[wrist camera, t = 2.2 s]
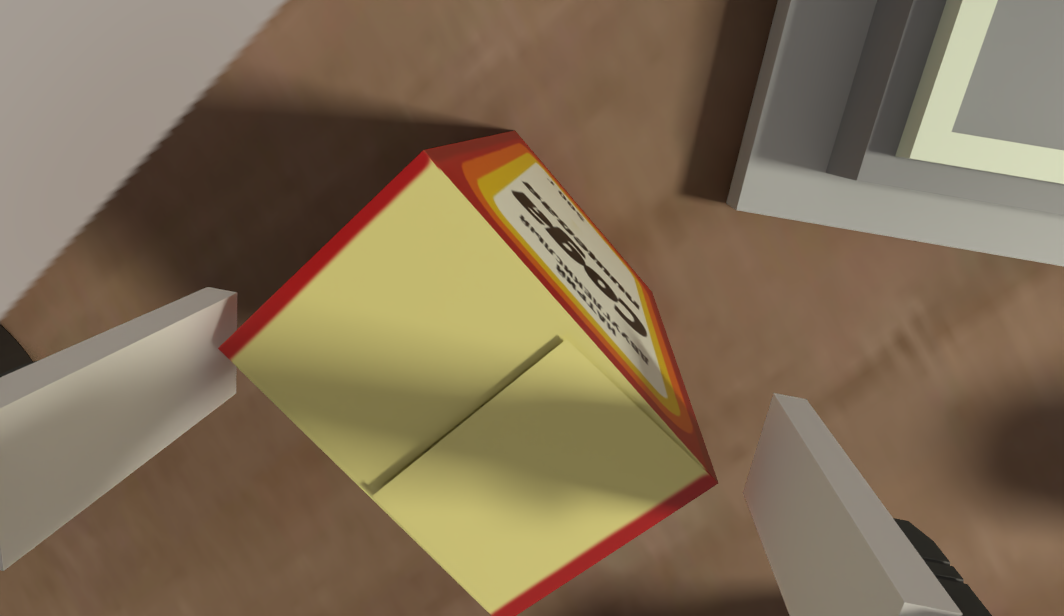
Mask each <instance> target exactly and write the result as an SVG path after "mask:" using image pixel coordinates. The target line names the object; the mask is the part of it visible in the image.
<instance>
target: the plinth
mask: <svg viewBox="0 0 1064 616" xmlns="http://www.w3.org/2000/svg"><path fill="white" fill-rule="evenodd" d="M726 204H728V205H729V206H731V207H732V208H734V209H735V210H739V211H744V212H750V213H756V214H762V215H768V216H774V217H779V218H785V219H791V220H797V221H803V222H808V223H814V224H820V225H826V226H832V227H838V228H843V229H849V230H855V231H861V232H867V233H873V234H878V235H884V236H890V237H896V238H902V239H907V240H913V241H919V242H925V243H931V244H937V245H942V246H948V247H954V248H960V249H966V250H971V251H977V252H983V253H989V254H995V255H1001V256H1006V257H1012V258H1018V259H1024V260H1030V261H1036V262H1041V263H1047V264H1053V265H1059V266H1064V0H778V2H777V6H776V10H775V14H774V18H773V21H772V25H771V29H770V33H769V37H768V41H767V45H766V49H765V53H764V57H763V61H762V65H761V69H760V72H759V76H758V80H757V84H756V88H755V92H754V96H753V100H752V104H751V108H750V112H749V116H748V120H747V124H746V127H745V131H744V135H743V139H742V143H741V147H740V151H739V155H738V159H737V163H736V167H735V171H734V175H733V178H732V182H731V186H730V190H729V194H728V198H727V202H726Z"/></svg>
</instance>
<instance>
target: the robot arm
mask: <svg viewBox="0 0 1064 616" xmlns="http://www.w3.org/2000/svg"><path fill="white" fill-rule="evenodd" d="M236 330H237V292H232V291H227V290H222V289H216V288H211V287H206V288H204V289H202V290H199V291H197V292H195V293H192V294H190V295H188V296H186V297H183V298H181V299H179V300H176V301H174V302H172V303H170V304H167V305H165V306H163V307H160V308H158V309H156V310H154V311H151V312H149V313H147V314H144V315H142V316H140V317H137V318H135V319H133V320H131V321H128V322H126V323H124V324H121V325H119V326H117V327H115V328H112V329H110V330H108V331H105V332H103V333H101V334H99V335H96V336H94V337H92V338H89V339H87V340H85V341H83V342H80V343H78V344H76V345H73V346H71V347H69V348H67V349H64V350H62V351H60V352H57V353H55V354H53V355H51V356H48V357H46V358H44V359H41V360H39V361H35V362H32V360H31V359H30V357H29V356H28V355H27V353H26V352H25V351H24V350H23V348H22V347H21V346H20V345H19V344H18V342H17V341H16V340H15V339H14V338H13V337H12V336H11V335H10V334H9V333H8V332H7V331H6V330H5V329H4V328H3V327H2V326H1V325H0V570H2V571H4V570H5V569H7V568H8V567H9V566H11V565H12V564H13V563H15V562H16V561H17V560H19V559H20V558H21V557H22V556H24V555H25V554H26V553H28V552H29V551H30V550H32V549H33V548H34V547H36V546H37V545H38V544H39V543H41V542H42V541H43V540H45V539H46V538H47V537H49V536H50V535H51V534H53V533H54V532H55V531H56V530H58V529H59V528H60V527H62V526H63V525H64V524H66V523H67V522H68V521H70V520H71V519H72V518H73V517H75V516H76V515H77V514H79V513H80V512H81V511H83V510H84V509H85V508H87V507H88V506H89V505H91V504H92V503H93V502H94V501H96V500H97V499H98V498H100V497H101V496H102V495H104V494H105V493H106V492H108V491H109V490H110V489H111V488H113V487H114V486H115V485H117V484H118V483H119V482H121V481H122V480H123V479H125V478H126V477H127V476H128V475H130V474H131V473H132V472H134V471H135V470H136V469H138V468H139V467H140V466H142V465H143V464H144V463H145V462H147V461H148V460H149V459H151V458H152V457H153V456H155V455H156V454H157V453H159V452H160V451H161V450H162V449H164V448H165V447H166V446H168V445H169V444H170V443H172V442H173V441H174V440H176V439H177V438H178V437H180V436H181V435H182V434H183V433H185V432H186V431H187V430H189V429H190V428H191V427H193V426H194V425H195V424H197V423H198V422H199V421H200V420H202V419H203V418H204V417H206V416H207V415H208V414H210V413H211V412H212V411H214V410H215V409H216V408H217V407H219V406H220V405H221V404H223V403H224V402H225V401H227V400H228V399H229V398H231V397H232V396H233V395H234V394H236V366H235V365H234V364H233V363H232V362H231V361H230V360H229V359H228V358H227V357H226V356H225V355H224V354H223V353H222V352H221V351H220V350H219V349H218V348H219V347H220V346H221V345H222V344H223V343H224V342H225V341H226V340H227V339H228V338H229V337H230V336H231V335H232V334H233V333H234V332H235V331H236ZM743 494H744V497H745V500H746V502H747V505H748V507H749V510H750V513H751V515H752V518H753V521H754V523H755V526H756V529H757V531H758V534H759V536H760V539H761V542H762V544H763V547H764V550H765V552H766V555H767V558H768V560H769V563H770V565H771V568H772V571H773V573H774V576H775V579H776V581H777V584H778V586H779V589H780V592H781V594H782V597H783V600H784V602H785V605H786V608H787V610H788V613H789V615H790V616H992V615H991V614H990V613H989V611H988V610H987V609H986V608H985V606H984V605H983V604H982V602H981V601H980V600H979V599H978V597H977V596H976V595H975V594H974V592H973V591H972V590H971V588H970V587H969V586H968V585H967V584H964V583H963V581H964V580H963V578H962V577H961V576H960V574H959V573H958V572H957V571H956V569H955V568H954V567H953V566H950V562H949V560H948V559H947V558H946V557H945V555H944V554H943V553H942V551H941V550H940V549H939V548H938V546H937V545H936V544H935V543H934V541H932V540H931V539H930V538H929V537H927V536H926V535H925V534H924V533H922V532H921V531H920V530H919V529H917V528H916V527H915V526H914V525H912V524H911V523H910V522H909V521H905V520H900V519H895V518H892V516H891V515H890V513H889V512H888V511H887V509H886V508H885V507H884V505H883V504H882V502H881V501H880V500H879V498H878V497H877V496H876V494H875V493H874V491H873V490H872V489H871V487H870V486H869V485H868V483H867V482H866V480H865V479H864V478H863V476H862V475H861V474H860V472H859V471H858V469H857V468H856V467H855V465H854V464H853V463H852V461H851V460H850V459H849V457H848V456H847V454H846V453H845V452H844V450H843V449H842V448H841V446H840V445H839V443H838V442H837V441H836V439H835V438H834V437H833V435H832V434H831V432H830V431H829V430H828V428H827V427H826V426H825V424H824V423H823V421H822V420H821V419H820V417H819V416H818V415H817V413H816V412H815V410H814V409H813V408H812V406H811V405H810V404H809V402H808V401H807V399H803V398H797V397H792V396H787V395H781V394H776V393H773V396H772V400H771V403H770V406H769V409H768V413H767V416H766V419H765V422H764V426H763V429H762V432H761V435H760V439H759V442H758V445H757V449H756V452H755V455H754V458H753V462H752V465H751V468H750V471H749V475H748V478H747V481H746V484H745V488H744V491H743Z"/></svg>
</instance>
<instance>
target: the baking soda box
mask: <svg viewBox="0 0 1064 616" xmlns="http://www.w3.org/2000/svg"><path fill="white" fill-rule="evenodd" d="M218 349H219V350H220V351H221V352H222V353H223V354H224V355H225V356H226V357H227V358H228V359H229V360H230V361H231V362H232V363H233V364H234V365H235V366H236V367H237V368H238V369H239V370H240V371H241V372H242V373H243V374H245V375H246V376H247V377H248V378H249V379H250V380H251V381H252V382H253V383H254V384H255V385H256V386H257V387H258V388H259V389H260V390H261V391H262V392H263V393H264V394H265V395H266V396H267V397H268V398H269V399H270V400H271V401H272V402H273V403H274V404H275V405H276V406H277V407H278V408H279V409H280V410H281V411H282V412H283V413H284V414H286V415H287V416H288V417H289V418H290V419H291V420H292V421H293V422H294V423H295V424H296V425H297V426H298V427H299V428H300V429H301V430H302V431H303V432H304V433H305V434H306V435H307V436H308V437H309V438H310V439H311V440H312V441H313V442H314V443H315V444H316V445H317V446H318V447H319V448H320V449H321V450H322V451H323V452H324V453H325V454H327V455H328V456H329V457H330V458H331V459H332V460H333V461H334V462H335V463H336V464H337V465H338V466H339V467H340V468H341V469H342V470H343V471H344V472H345V473H346V474H347V475H348V476H349V477H350V478H351V479H352V480H353V481H354V482H355V483H356V484H357V485H358V486H359V487H360V488H361V489H362V490H363V491H364V492H365V493H366V494H367V495H369V496H370V497H371V498H372V499H373V500H374V501H375V502H376V503H377V504H378V505H379V506H380V507H381V508H382V509H383V510H384V511H385V512H386V513H387V514H388V515H389V516H390V517H391V518H392V519H393V520H394V521H395V522H396V523H397V524H398V525H399V526H400V527H401V528H402V529H403V530H404V531H405V532H406V533H407V534H408V535H410V536H411V537H412V538H413V539H414V540H415V541H416V542H417V543H418V544H419V545H420V546H421V547H422V548H423V549H424V550H425V551H426V552H427V553H428V554H429V555H430V556H431V557H432V558H433V559H434V560H435V561H436V562H437V563H438V564H439V565H440V566H441V567H442V568H443V569H444V570H445V571H446V572H447V573H448V574H449V575H451V576H452V577H453V578H454V579H455V580H456V581H457V582H458V583H459V584H460V585H461V586H462V587H463V588H464V589H465V590H466V591H467V592H468V593H469V594H470V595H471V596H472V597H473V598H474V599H475V600H476V601H477V602H478V603H479V604H480V605H481V606H482V607H483V608H484V609H485V610H486V611H487V612H488V613H489V614H490V615H492V616H516V615H518V614H519V613H521V612H522V611H524V610H525V609H527V608H528V607H530V606H531V605H533V604H534V603H536V602H538V601H539V600H541V599H542V598H544V597H545V596H547V595H548V594H550V593H551V592H553V591H554V590H556V589H557V588H559V587H560V586H562V585H563V584H565V583H567V582H568V581H570V580H571V579H573V578H574V577H576V576H577V575H579V574H580V573H582V572H583V571H585V570H586V569H588V568H589V567H591V566H593V565H594V564H596V563H597V562H599V561H600V560H602V559H603V558H605V557H606V556H608V555H609V554H611V553H612V552H614V551H615V550H617V549H619V548H620V547H622V546H623V545H625V544H626V543H628V542H629V541H631V540H632V539H634V538H635V537H637V536H638V535H640V534H641V533H643V532H645V531H646V530H648V529H649V528H651V527H652V526H654V525H655V524H657V523H658V522H660V521H661V520H663V519H664V518H666V517H667V516H669V515H671V514H672V513H674V512H675V511H677V510H678V509H680V508H681V507H683V506H684V505H686V504H687V503H689V502H690V501H692V500H693V499H695V498H697V497H698V496H700V495H701V494H703V493H704V492H706V491H707V490H709V489H710V488H712V487H713V486H715V485H716V484H718V480H717V478H716V475H715V472H714V469H713V466H712V463H711V460H710V457H709V455H708V452H707V449H706V446H705V443H704V440H703V437H702V434H701V432H700V429H699V426H698V423H697V420H696V417H695V414H694V411H693V409H692V406H691V403H690V400H689V397H688V394H687V391H686V388H685V386H684V383H683V380H682V377H681V374H680V371H679V368H678V365H677V363H676V360H675V357H674V354H673V351H672V348H671V345H670V342H669V340H668V337H667V334H666V331H665V328H664V325H663V322H662V319H661V317H660V314H659V311H658V308H657V305H656V302H655V299H654V296H653V294H652V292H651V290H650V289H649V288H648V287H647V286H646V284H645V283H644V282H643V281H642V280H641V279H640V277H639V276H638V275H637V274H636V273H635V271H634V270H633V269H632V268H631V267H630V266H629V264H628V263H627V262H626V261H625V260H624V259H623V257H622V256H621V255H620V254H619V253H618V251H617V250H616V249H615V248H614V247H613V246H612V244H611V243H610V242H609V241H608V240H607V238H606V237H605V236H604V235H603V234H602V233H601V231H600V230H599V229H598V228H597V227H596V225H595V224H594V223H593V222H592V221H591V220H590V218H589V217H588V216H587V215H586V214H585V213H584V211H583V210H582V209H581V208H580V207H579V205H578V204H577V203H576V202H575V201H574V200H573V198H572V197H571V196H570V195H569V194H568V192H567V191H566V190H565V189H564V188H563V187H562V185H561V184H560V183H559V182H558V181H557V180H556V178H555V177H554V176H553V175H552V174H551V172H550V171H549V170H548V169H547V168H546V167H545V165H544V164H543V163H542V162H541V161H540V159H539V158H538V157H537V156H536V155H535V154H534V152H533V151H532V150H531V149H530V148H529V147H528V145H527V144H526V143H525V142H524V141H523V139H522V138H521V137H520V136H519V135H518V134H517V132H516V131H510V132H506V133H501V134H496V135H492V136H487V137H482V138H478V139H473V140H468V141H463V142H459V143H454V144H449V145H445V146H440V147H435V148H431V149H426V150H423V151H422V152H421V153H420V154H419V155H418V156H417V157H416V158H415V159H414V160H413V161H412V162H411V163H410V164H409V165H408V166H406V167H405V168H404V169H403V170H402V171H401V172H400V173H399V174H398V175H397V176H396V177H395V178H394V179H393V180H392V181H391V182H390V183H389V184H388V185H387V186H386V187H385V188H384V189H383V190H382V191H381V192H379V193H378V194H377V195H376V196H375V197H374V198H373V199H372V200H371V201H370V202H369V203H368V204H367V205H366V206H365V207H364V208H363V209H362V210H361V211H360V212H359V213H358V214H357V215H356V216H355V217H354V218H352V219H351V220H350V221H349V222H348V223H347V224H346V225H345V226H344V227H343V228H342V229H341V230H340V231H339V232H338V233H337V234H336V235H335V236H334V237H333V238H332V239H331V240H330V241H329V242H328V243H327V244H326V245H324V246H323V247H322V248H321V249H320V250H319V251H318V252H317V253H316V254H315V255H314V256H313V257H312V258H311V259H310V260H309V261H308V262H307V263H306V264H305V265H304V266H303V267H302V268H301V269H300V270H299V271H297V272H296V273H295V274H294V275H293V276H292V277H291V278H290V279H289V280H288V281H287V282H286V283H285V284H284V285H283V286H282V287H281V288H280V289H279V290H278V291H277V292H276V293H275V294H274V295H273V296H272V297H270V298H269V299H268V300H267V301H266V302H265V303H264V304H263V305H262V306H261V307H260V308H259V309H258V310H257V311H256V312H255V313H254V314H253V315H252V316H251V317H250V318H249V319H248V320H247V321H246V322H245V323H244V324H242V325H241V326H240V327H239V328H238V329H237V330H236V331H235V332H234V333H233V334H232V335H231V336H230V337H229V338H228V339H227V340H226V341H225V342H224V343H223V344H222V345H221V346H220V347H219V348H218Z"/></svg>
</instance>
